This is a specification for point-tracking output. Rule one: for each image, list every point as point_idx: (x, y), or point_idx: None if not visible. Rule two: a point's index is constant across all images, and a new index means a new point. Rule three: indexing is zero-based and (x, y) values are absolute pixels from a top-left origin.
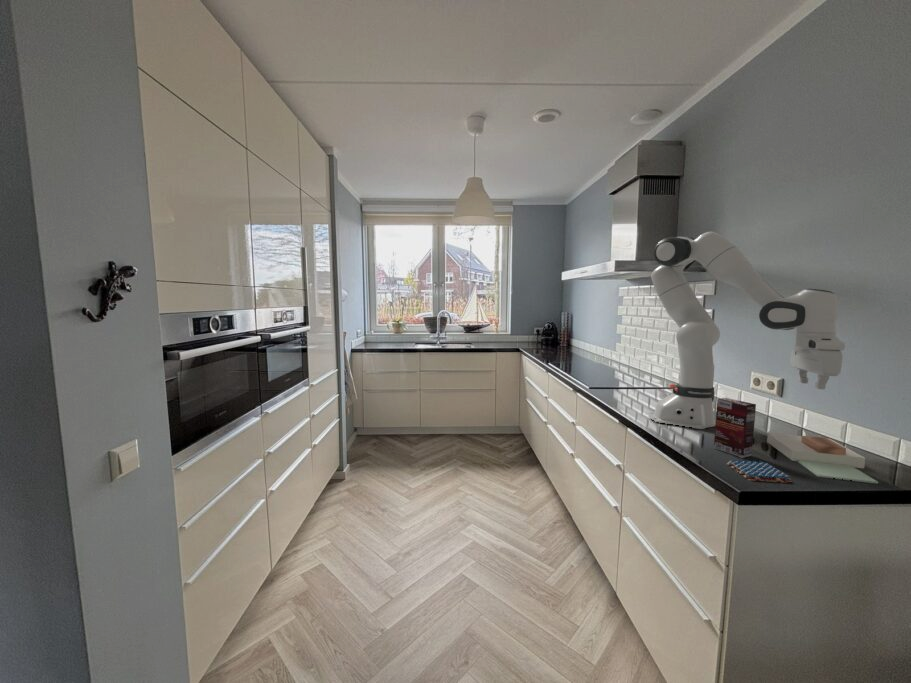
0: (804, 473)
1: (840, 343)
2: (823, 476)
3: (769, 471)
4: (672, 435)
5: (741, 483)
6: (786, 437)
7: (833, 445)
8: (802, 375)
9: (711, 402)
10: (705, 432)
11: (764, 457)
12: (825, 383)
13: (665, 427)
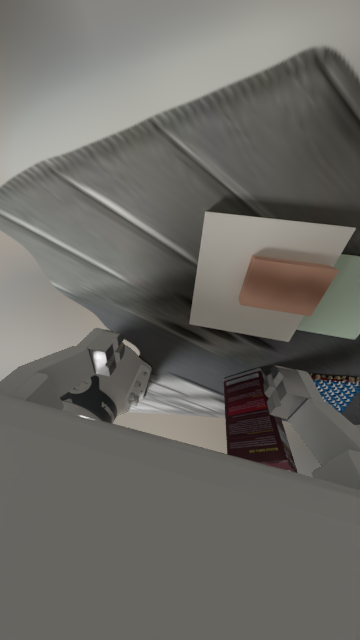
0: (335, 345)
1: None
2: (358, 333)
3: (337, 392)
4: (188, 402)
5: (345, 416)
6: (211, 308)
7: (313, 284)
8: (79, 374)
9: (105, 381)
10: (164, 368)
11: (266, 356)
12: (327, 406)
13: (157, 396)
